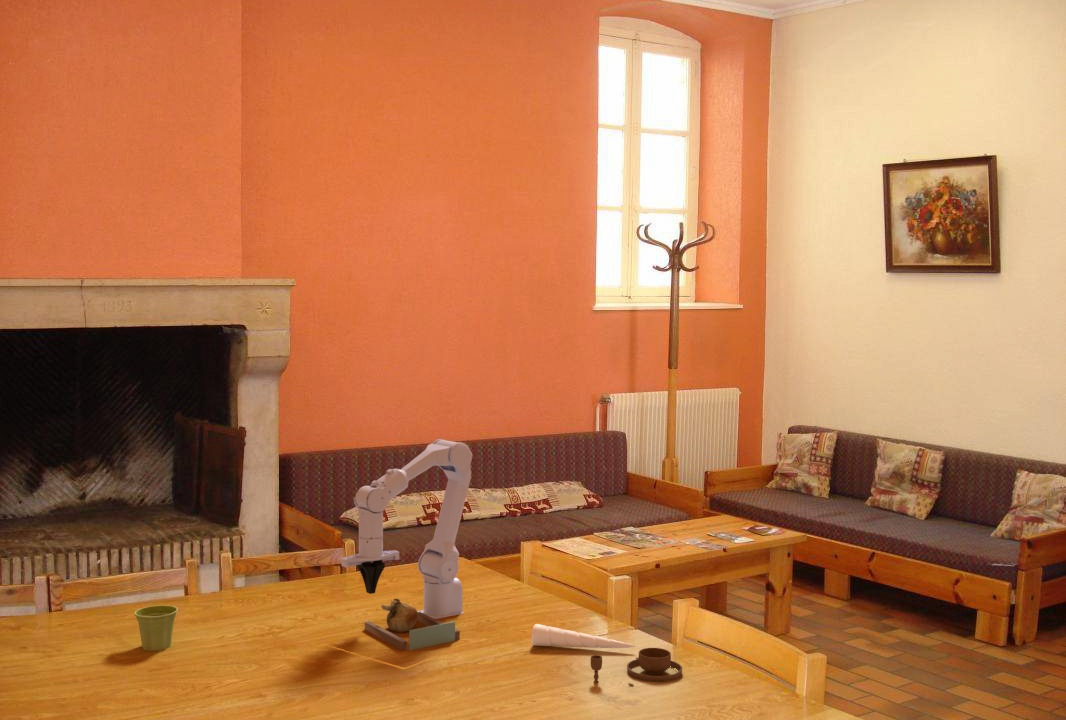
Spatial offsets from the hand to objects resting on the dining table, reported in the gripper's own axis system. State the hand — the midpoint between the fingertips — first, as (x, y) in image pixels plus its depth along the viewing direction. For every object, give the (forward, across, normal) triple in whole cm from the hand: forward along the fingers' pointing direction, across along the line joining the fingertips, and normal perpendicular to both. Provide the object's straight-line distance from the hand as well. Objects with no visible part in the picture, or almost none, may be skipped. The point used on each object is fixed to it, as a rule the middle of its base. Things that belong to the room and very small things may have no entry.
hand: (370, 592), depth 262 cm
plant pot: (+10, +46, -16) cm, 50 cm away
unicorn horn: (+14, -37, +42) cm, 57 cm away
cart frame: (+9, -6, +9) cm, 14 cm away
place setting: (+10, -34, +57) cm, 68 cm away
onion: (+10, -6, +4) cm, 12 cm away
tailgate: (+9, -6, +19) cm, 22 cm away
